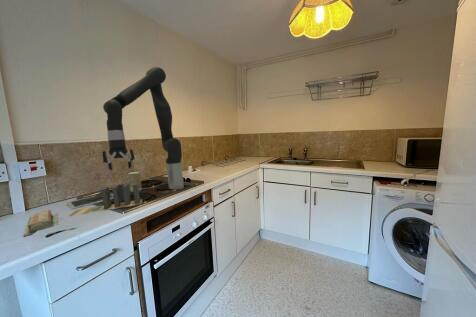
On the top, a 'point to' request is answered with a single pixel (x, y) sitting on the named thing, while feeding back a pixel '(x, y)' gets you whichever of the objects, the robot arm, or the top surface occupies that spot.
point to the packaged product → (40, 222)
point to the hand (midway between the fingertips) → (120, 169)
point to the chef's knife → (57, 232)
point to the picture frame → (87, 201)
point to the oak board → (101, 208)
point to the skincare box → (134, 180)
